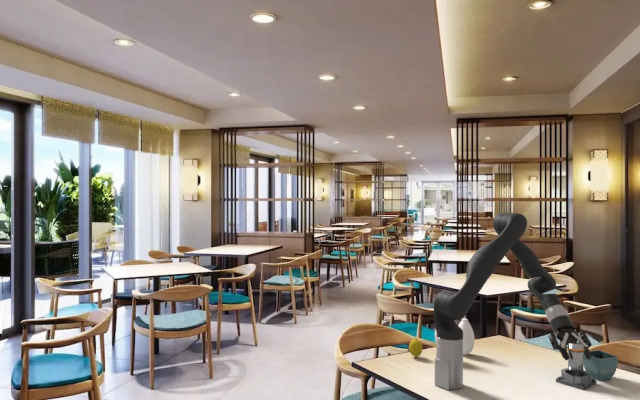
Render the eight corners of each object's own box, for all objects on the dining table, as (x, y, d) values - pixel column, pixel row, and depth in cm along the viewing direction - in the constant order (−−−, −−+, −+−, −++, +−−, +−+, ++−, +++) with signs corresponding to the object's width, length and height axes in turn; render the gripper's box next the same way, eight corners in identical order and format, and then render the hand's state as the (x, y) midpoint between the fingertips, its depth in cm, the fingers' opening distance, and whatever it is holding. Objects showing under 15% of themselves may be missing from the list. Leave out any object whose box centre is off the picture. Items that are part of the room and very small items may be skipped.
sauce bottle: (477, 354, 209) (477, 313, 209) (467, 358, 204) (467, 315, 204) (461, 350, 215) (462, 309, 215) (451, 354, 210) (451, 312, 210)
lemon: (413, 354, 209) (413, 335, 209) (424, 357, 206) (424, 338, 206) (406, 357, 205) (406, 338, 205) (418, 360, 201) (418, 341, 201)
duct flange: (584, 390, 170) (584, 379, 170) (555, 381, 178) (555, 371, 178) (596, 383, 177) (596, 373, 177) (568, 375, 185) (568, 366, 185)
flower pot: (599, 383, 177) (599, 358, 177) (580, 375, 186) (580, 351, 186) (618, 381, 180) (619, 357, 180) (599, 373, 188) (599, 349, 188)
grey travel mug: (580, 383, 174) (580, 346, 174) (564, 378, 178) (564, 343, 178) (587, 379, 177) (587, 344, 177) (571, 375, 182) (571, 340, 182)
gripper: (546, 314, 184) (565, 354, 173) (580, 313, 186) (601, 353, 175) (538, 325, 189) (555, 364, 178) (571, 324, 191) (591, 363, 180)
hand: (578, 358), depth 176 cm, fingers open, 8 cm apart
